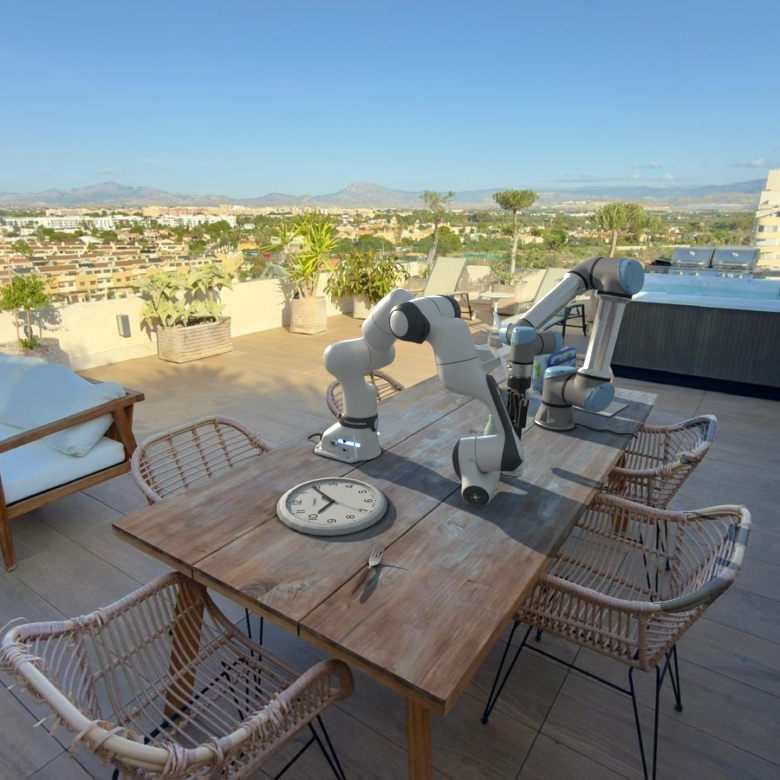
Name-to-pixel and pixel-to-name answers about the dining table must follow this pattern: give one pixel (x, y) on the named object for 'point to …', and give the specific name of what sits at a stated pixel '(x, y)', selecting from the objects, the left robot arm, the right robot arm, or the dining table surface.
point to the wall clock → (331, 506)
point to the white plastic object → (494, 355)
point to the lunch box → (551, 364)
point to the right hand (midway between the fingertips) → (512, 442)
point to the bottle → (490, 427)
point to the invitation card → (609, 409)
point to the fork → (372, 562)
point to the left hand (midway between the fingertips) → (492, 453)
